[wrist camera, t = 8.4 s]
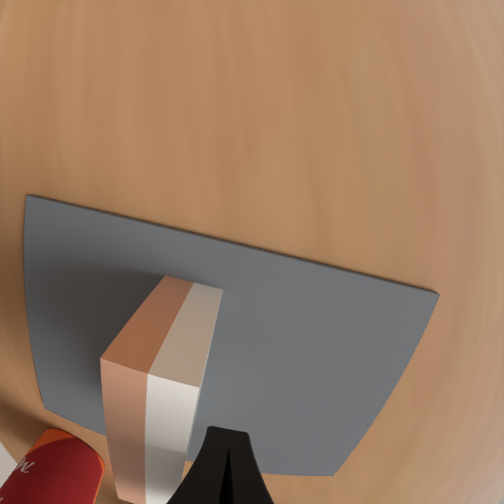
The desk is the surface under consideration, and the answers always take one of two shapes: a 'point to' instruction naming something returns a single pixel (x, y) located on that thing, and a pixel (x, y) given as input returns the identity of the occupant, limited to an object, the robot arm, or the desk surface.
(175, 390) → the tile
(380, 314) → the mat
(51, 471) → the paper cup
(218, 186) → the desk surface
